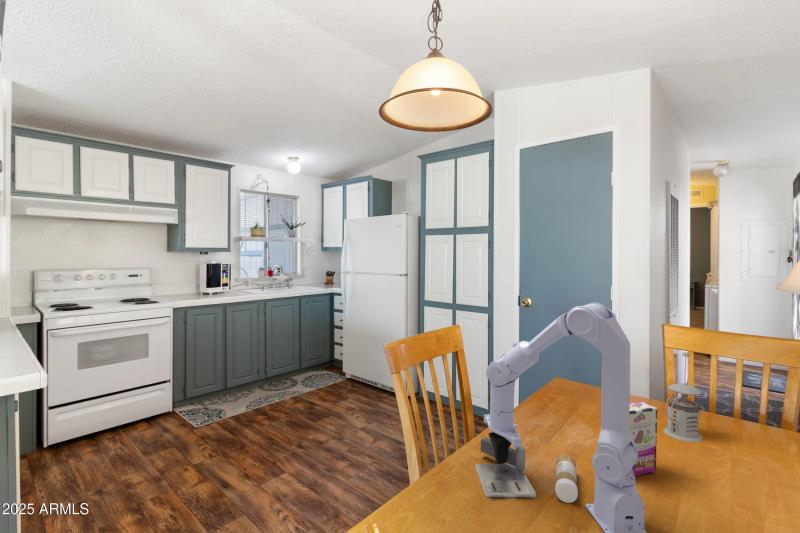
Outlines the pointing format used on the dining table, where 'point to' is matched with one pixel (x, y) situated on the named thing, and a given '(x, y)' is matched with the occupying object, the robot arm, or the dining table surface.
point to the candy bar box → (644, 436)
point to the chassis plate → (504, 481)
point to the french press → (683, 413)
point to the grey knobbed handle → (513, 455)
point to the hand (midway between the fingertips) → (500, 462)
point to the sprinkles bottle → (566, 479)
